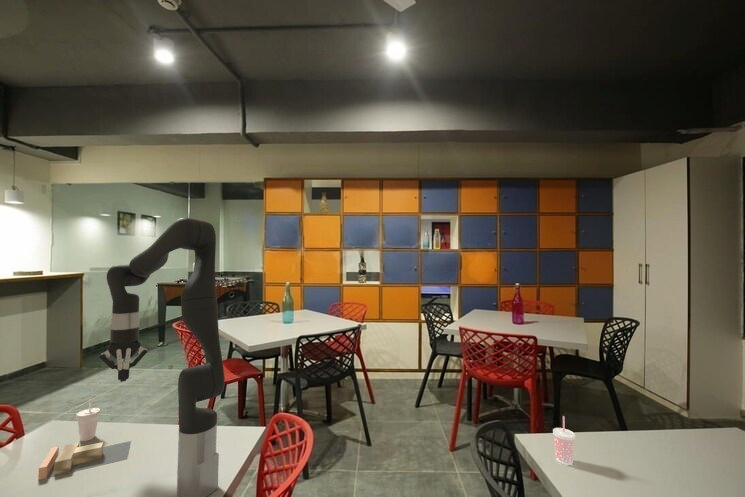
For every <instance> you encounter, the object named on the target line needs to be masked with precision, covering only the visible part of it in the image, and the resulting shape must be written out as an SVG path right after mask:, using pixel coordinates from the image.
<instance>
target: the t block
mask: <svg viewBox="0 0 745 497" xmlns="http://www.w3.org/2000/svg"><path fill="white" fill-rule="evenodd" d="M103 447H104V441H102V442H97V443H92V444H87V445H82V446H80V442H74V443H68V444H64V445H63V447H62V449H61V451H59V454H58V457H57V459H56V461H55V463H54V475H55V474H60V473H64V472H68V471H70V470H71V468H72V466H73V465H76V464H80V463H85V462H89V461H94V460H98V459H101V457H102V454H103Z"/></svg>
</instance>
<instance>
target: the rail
mask: <svg viewBox="0 0 745 497" xmlns="http://www.w3.org/2000/svg"><path fill="white" fill-rule="evenodd" d="M59 450H60V446H58V445H57V446H54V447H51V448H50V449H49V452H48V453H47V455H46V457H45V458H44V460H43V461H42V463H41V464H40V466H39V467H38V475H37V476H38V477H37V478H38V481H40V480H41V479H42V480H45V478H46V479H48V478H47V476H48V474H49V472H50V471H51V469H52V467H53V465H54V463H55V461H56V459H57V457H58V456H59V454H60V451H59Z"/></svg>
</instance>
